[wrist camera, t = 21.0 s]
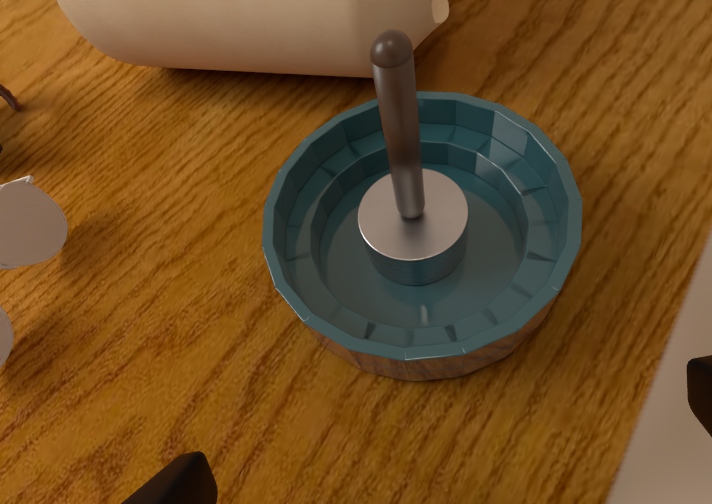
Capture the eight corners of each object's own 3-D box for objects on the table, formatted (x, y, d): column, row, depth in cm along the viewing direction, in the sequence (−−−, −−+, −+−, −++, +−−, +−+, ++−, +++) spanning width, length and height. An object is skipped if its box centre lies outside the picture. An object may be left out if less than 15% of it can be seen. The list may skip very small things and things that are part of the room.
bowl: (623, 306, 22) (662, 266, 18) (341, 433, 21) (317, 421, 17) (472, 112, 29) (475, 54, 25) (261, 203, 29) (232, 158, 25)
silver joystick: (436, 303, 23) (426, 123, 12) (348, 259, 25) (266, 71, 14) (483, 220, 25) (514, -6, 13) (397, 186, 27) (360, -33, 16)
